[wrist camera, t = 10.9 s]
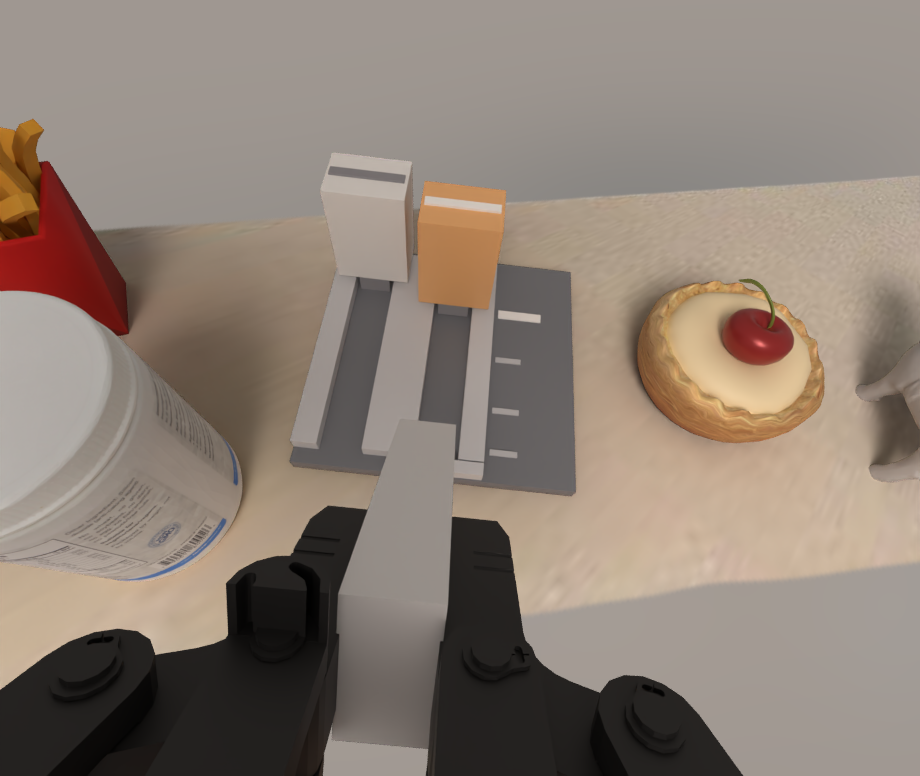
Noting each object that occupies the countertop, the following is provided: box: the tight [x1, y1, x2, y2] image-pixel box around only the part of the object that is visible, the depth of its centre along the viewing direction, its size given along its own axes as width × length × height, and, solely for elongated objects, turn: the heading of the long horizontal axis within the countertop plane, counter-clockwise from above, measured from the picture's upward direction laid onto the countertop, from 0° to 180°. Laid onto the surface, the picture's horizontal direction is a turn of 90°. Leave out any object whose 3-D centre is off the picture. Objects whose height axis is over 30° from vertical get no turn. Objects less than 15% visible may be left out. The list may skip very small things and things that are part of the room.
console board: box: [290, 152, 576, 496], centre depth 31 cm, size 18×18×10 cm
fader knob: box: [418, 181, 506, 317], centre depth 33 cm, size 5×4×9 cm
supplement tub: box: [0, 291, 242, 582], centre depth 23 cm, size 10×10×15 cm
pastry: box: [637, 279, 824, 443], centre depth 32 cm, size 12×12×9 cm
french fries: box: [0, 119, 129, 336], centre depth 28 cm, size 9×8×15 cm
